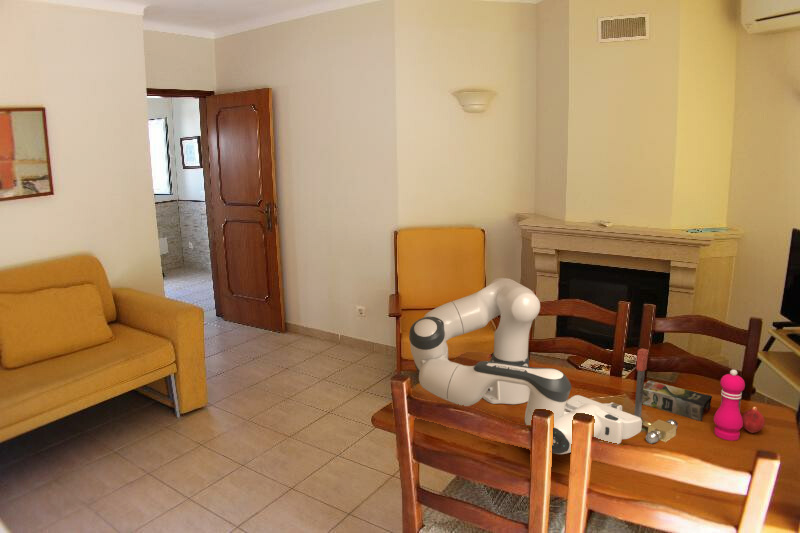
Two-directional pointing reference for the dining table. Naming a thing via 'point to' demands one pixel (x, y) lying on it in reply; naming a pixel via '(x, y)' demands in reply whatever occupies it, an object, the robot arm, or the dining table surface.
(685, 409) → the juice carton
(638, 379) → the valve lever
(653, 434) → the valve body
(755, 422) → the onion
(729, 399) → the pepper mill
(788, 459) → the dining table surface
